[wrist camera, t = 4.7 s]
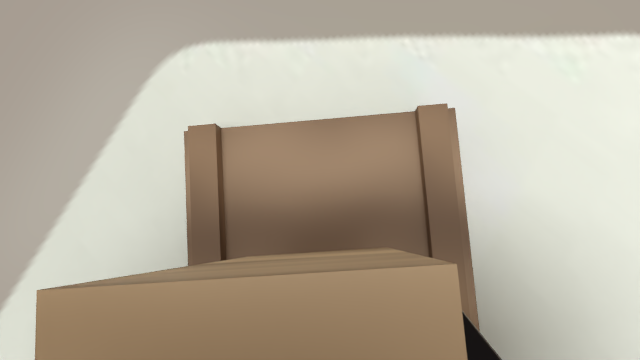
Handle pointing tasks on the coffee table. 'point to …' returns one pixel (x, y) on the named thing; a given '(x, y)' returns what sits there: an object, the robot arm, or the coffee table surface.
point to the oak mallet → (262, 311)
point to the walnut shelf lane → (330, 189)
